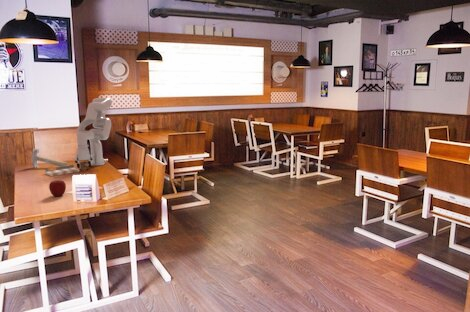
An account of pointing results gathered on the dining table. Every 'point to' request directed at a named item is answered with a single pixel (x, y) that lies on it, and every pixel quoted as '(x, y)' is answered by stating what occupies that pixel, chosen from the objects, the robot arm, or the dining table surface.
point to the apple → (57, 187)
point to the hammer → (44, 159)
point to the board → (62, 171)
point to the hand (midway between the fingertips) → (84, 167)
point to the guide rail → (59, 168)
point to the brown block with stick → (84, 165)
